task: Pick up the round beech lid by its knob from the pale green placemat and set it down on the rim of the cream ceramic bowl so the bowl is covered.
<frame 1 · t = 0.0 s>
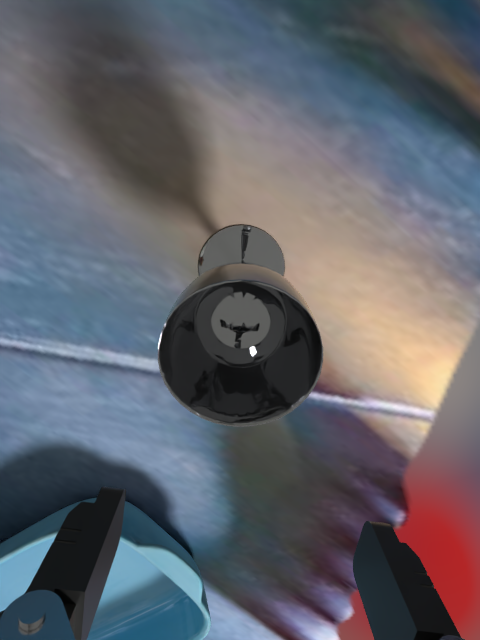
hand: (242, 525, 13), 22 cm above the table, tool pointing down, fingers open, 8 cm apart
wine glass: (241, 267, 33), on the table
casserole dish: (76, 568, 49), on the table
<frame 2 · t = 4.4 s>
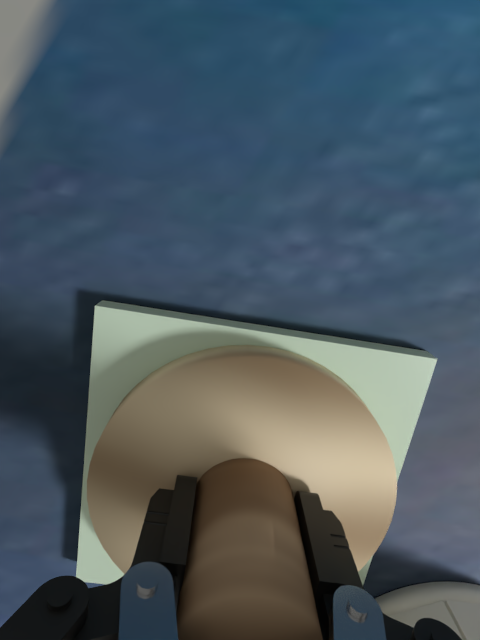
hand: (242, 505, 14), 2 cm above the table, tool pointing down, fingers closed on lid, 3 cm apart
mat: (241, 466, 16), on the table
lid: (242, 479, 15), point 1 cm above the table, touching gripper, mat
when the fingers open (9 cm above the table, at t = 8.9 s): lid drops 1 cm, resting on bowl.
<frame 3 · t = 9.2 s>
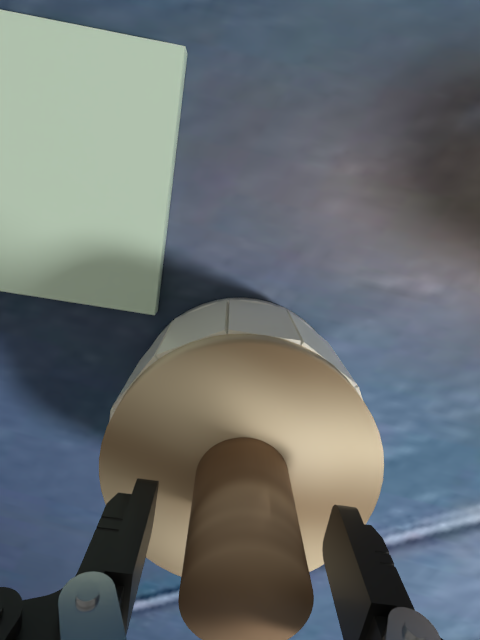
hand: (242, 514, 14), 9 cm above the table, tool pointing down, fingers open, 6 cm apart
mat: (45, 171, 19), on the table
bowl: (238, 393, 22), on the table
lid: (241, 458, 17), point 6 cm above the table, touching bowl
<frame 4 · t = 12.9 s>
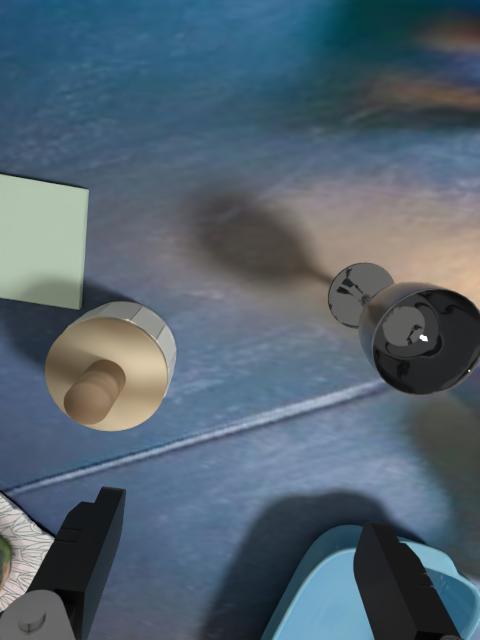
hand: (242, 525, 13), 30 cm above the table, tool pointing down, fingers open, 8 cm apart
mat: (24, 241, 40), on the table
wine glass: (361, 296, 42), on the table
bowl: (125, 350, 43), on the table
casserole dish: (341, 607, 55), on the table
lid: (109, 372, 37), point 6 cm above the table, touching bowl
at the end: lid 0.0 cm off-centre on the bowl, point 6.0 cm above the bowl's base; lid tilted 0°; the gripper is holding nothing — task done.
